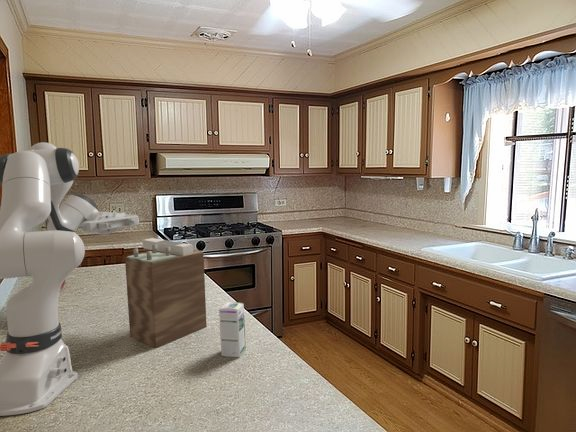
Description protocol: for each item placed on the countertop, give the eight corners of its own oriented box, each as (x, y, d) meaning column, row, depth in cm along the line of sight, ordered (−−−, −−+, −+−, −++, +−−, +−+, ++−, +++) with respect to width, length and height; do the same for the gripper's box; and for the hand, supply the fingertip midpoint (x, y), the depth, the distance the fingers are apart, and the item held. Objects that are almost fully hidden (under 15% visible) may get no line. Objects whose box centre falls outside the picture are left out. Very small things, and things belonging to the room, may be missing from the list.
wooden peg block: (206, 326, 143) (203, 243, 139) (156, 348, 127) (151, 254, 123) (180, 318, 151) (176, 239, 147) (130, 337, 135) (124, 248, 132)
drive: (193, 253, 137) (192, 244, 137) (183, 255, 134) (182, 246, 134) (152, 246, 150) (152, 237, 150) (143, 248, 147) (142, 239, 147)
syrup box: (240, 358, 120) (238, 309, 118) (220, 356, 121) (218, 307, 119) (246, 349, 125) (244, 302, 123) (227, 347, 126) (225, 301, 125)
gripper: (74, 218, 154) (92, 219, 145) (126, 212, 169) (145, 212, 160) (77, 235, 154) (94, 237, 145) (128, 227, 170) (147, 228, 161)
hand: (121, 223), depth 153 cm, fingers open, 8 cm apart
